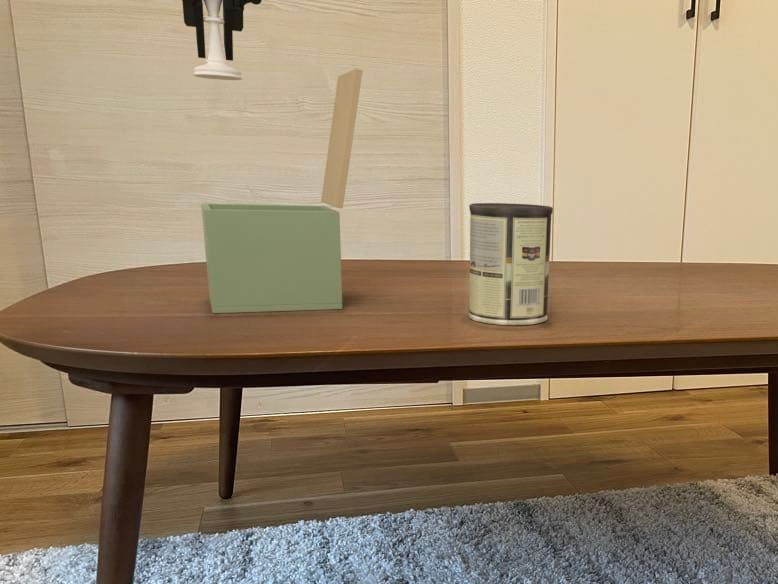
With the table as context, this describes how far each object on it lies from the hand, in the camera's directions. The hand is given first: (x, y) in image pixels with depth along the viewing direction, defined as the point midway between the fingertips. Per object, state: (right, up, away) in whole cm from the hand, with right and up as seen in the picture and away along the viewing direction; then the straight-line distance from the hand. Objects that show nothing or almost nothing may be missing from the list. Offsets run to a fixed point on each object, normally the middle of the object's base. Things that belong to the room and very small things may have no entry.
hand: (214, 50), depth 87 cm
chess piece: (+1, -4, -2) cm, 5 cm away
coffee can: (+32, -29, +13) cm, 45 cm away
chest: (+1, -26, +16) cm, 31 cm away
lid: (+10, -6, +13) cm, 17 cm away
